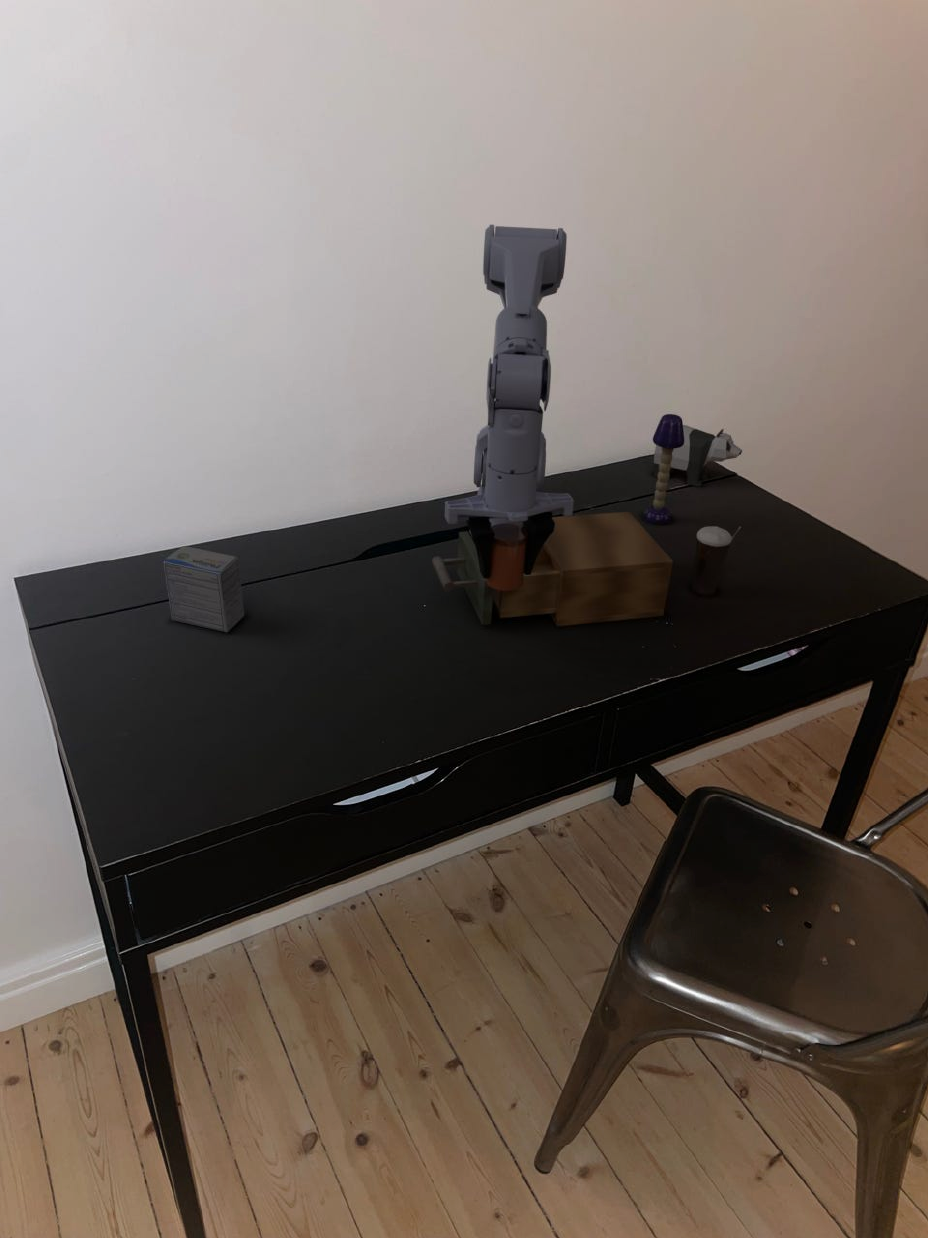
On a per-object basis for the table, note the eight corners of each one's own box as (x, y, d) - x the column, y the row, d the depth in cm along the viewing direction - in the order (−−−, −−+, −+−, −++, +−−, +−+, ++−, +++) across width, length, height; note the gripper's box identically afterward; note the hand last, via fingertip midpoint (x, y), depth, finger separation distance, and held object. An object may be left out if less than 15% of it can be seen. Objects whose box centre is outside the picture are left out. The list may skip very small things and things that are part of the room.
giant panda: (645, 475, 164) (653, 421, 159) (656, 464, 168) (664, 412, 163) (729, 495, 158) (740, 440, 153) (738, 483, 162) (749, 430, 157)
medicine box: (245, 617, 120) (239, 556, 116) (226, 634, 117) (220, 572, 112) (190, 604, 122) (183, 544, 118) (170, 621, 119) (161, 559, 114)
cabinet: (556, 626, 121) (562, 570, 117) (523, 571, 133) (528, 518, 129) (663, 616, 124) (673, 561, 120) (621, 562, 136) (629, 511, 132)
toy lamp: (673, 526, 147) (691, 422, 138) (643, 525, 147) (659, 421, 138) (668, 513, 151) (685, 411, 142) (638, 511, 151) (653, 410, 142)
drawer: (448, 628, 118) (449, 584, 115) (426, 576, 129) (427, 534, 126) (584, 615, 122) (589, 572, 119) (551, 565, 133) (555, 524, 130)
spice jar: (490, 592, 110) (493, 542, 107) (480, 573, 114) (483, 524, 111) (528, 589, 111) (533, 539, 108) (517, 570, 115) (521, 521, 112)
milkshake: (727, 600, 128) (741, 534, 123) (686, 595, 129) (699, 528, 124) (726, 584, 132) (740, 519, 127) (686, 579, 133) (699, 514, 128)
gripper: (456, 482, 100) (452, 594, 107) (587, 474, 103) (574, 584, 110) (442, 457, 106) (438, 565, 113) (566, 450, 109) (555, 555, 116)
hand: (504, 572), depth 112 cm, fingers closed on spice jar, 4 cm apart
